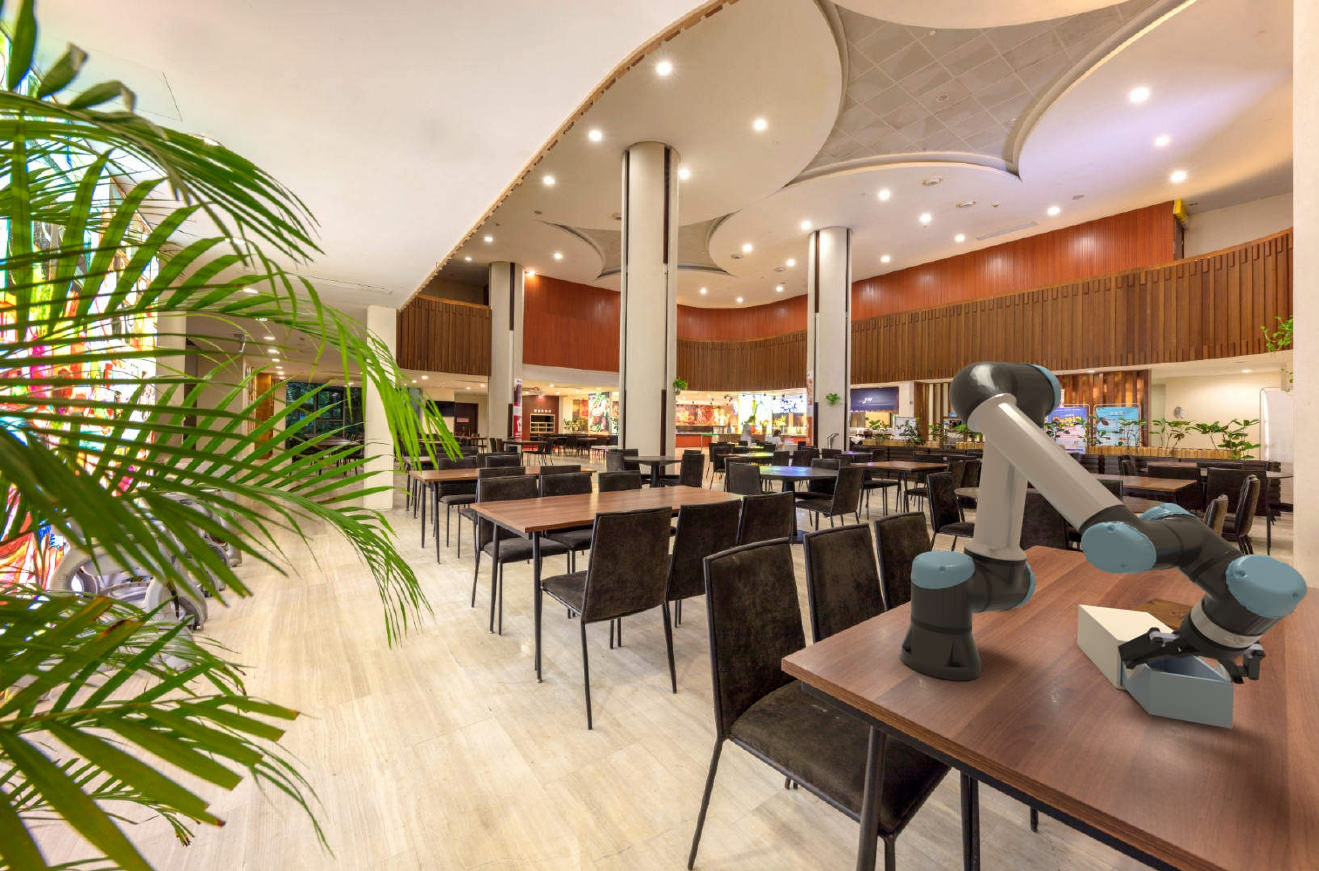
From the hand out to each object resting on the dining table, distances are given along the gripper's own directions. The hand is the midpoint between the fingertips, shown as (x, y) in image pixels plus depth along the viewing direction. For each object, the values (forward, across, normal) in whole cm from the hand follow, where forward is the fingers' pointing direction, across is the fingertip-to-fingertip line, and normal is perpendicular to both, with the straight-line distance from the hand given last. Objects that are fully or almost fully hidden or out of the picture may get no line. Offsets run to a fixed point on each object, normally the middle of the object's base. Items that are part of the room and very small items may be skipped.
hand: (1167, 679), depth 97 cm
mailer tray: (+6, 0, -1) cm, 6 cm away
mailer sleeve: (+13, 0, +7) cm, 15 cm away
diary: (+34, +20, +26) cm, 47 cm away
